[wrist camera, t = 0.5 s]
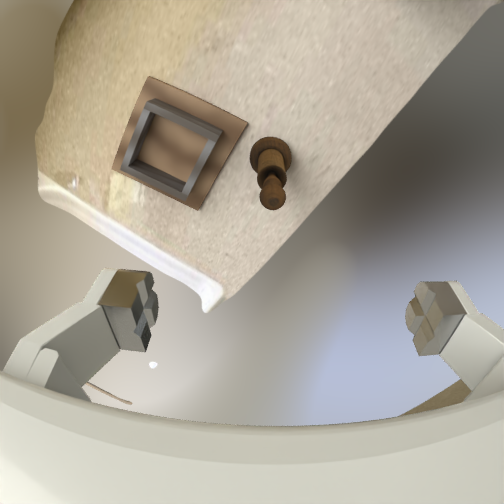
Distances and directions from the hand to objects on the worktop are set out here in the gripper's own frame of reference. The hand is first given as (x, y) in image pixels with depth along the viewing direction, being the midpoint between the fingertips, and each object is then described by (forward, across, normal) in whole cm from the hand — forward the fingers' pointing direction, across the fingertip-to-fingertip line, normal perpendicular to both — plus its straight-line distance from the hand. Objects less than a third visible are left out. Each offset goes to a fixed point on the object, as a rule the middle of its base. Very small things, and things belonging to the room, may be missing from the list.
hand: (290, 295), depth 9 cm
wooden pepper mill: (+43, -1, +8) cm, 43 cm away
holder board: (+42, +15, +6) cm, 45 cm away
